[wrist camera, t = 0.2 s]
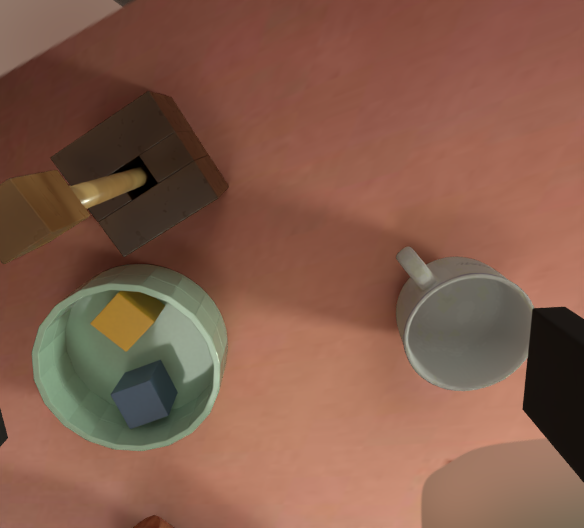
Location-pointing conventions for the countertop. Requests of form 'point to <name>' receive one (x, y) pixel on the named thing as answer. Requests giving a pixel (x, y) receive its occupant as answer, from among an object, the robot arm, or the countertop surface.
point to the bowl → (130, 357)
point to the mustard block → (127, 317)
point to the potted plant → (153, 523)
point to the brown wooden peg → (53, 206)
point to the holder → (158, 159)
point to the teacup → (461, 322)
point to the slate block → (144, 394)
